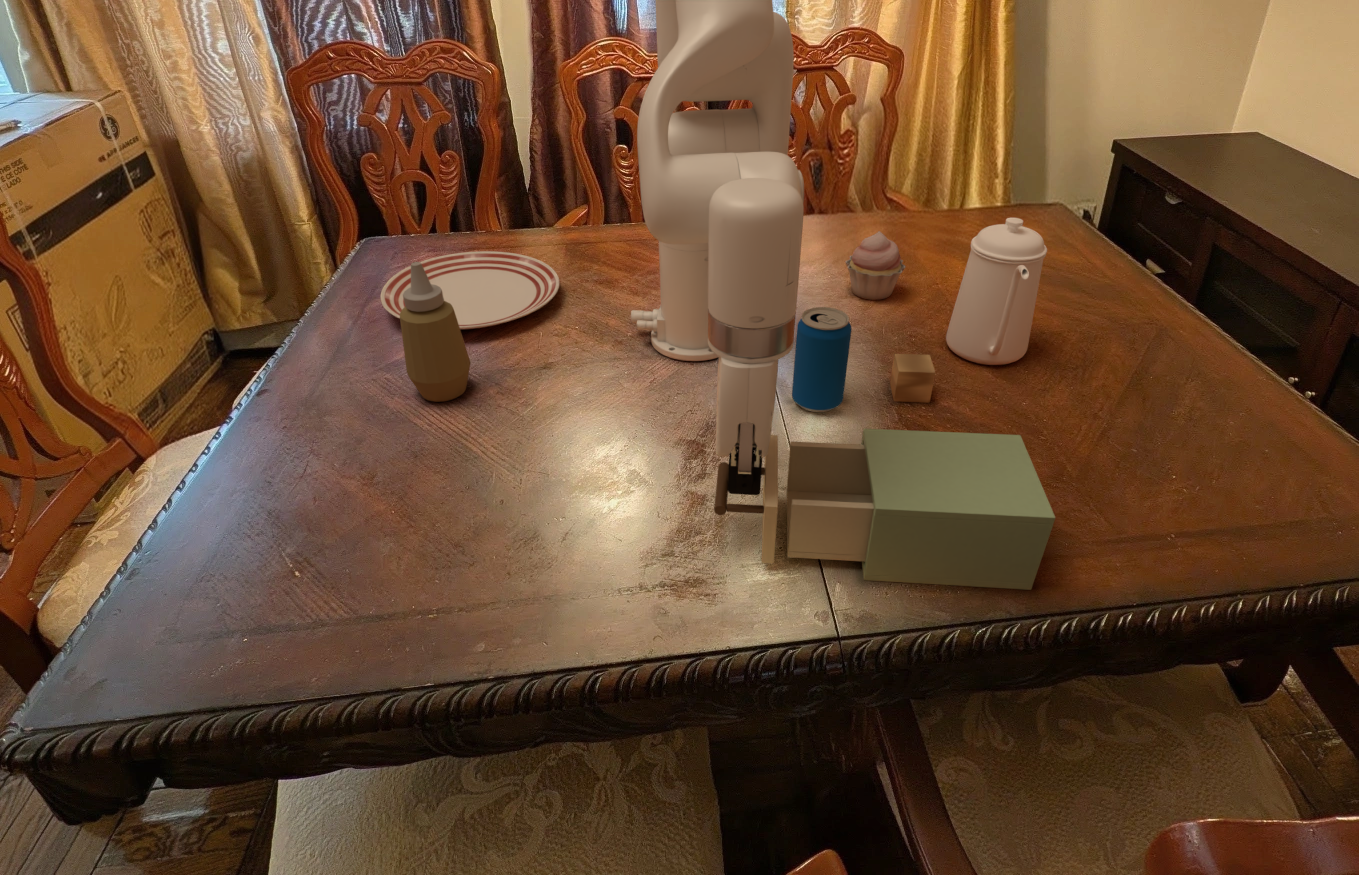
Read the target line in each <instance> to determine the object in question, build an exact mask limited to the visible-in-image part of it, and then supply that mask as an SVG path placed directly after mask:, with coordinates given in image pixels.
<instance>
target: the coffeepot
mask: <svg viewBox="0 0 1359 875" xmlns="http://www.w3.org/2000/svg"><path fill="white" fill-rule="evenodd" d="M1047 253H1048V248H1047V245H1045V241H1044V238H1043V236H1042V235H1041V234H1040V233H1038V232H1037V231H1035V230H1034V229H1032V228H1030V227H1027V226H1024V220H1023V219H1022V218H1019V217H1007V218H1005V222H1004V223H999V224H998V223H997V224H992V225H988V226H986V227H984V228H982V229H981V230H980V231H979V232H978V233H977V235H976V236H974V237H973V238H972V239H971V241H970V252H969V255H968V259H967V261H966V265H965V268H964V272H963V276H962V278H961V282H960V286H959V290H958V293H957V297H956V300H955V302H954V307H953V310H952V314H951V317H950V320H949V324H948V327H947V330H946V334H945V342H946V345H947V347H949V350H951V351H952V352H953V353H954V354H956V355H957V356H958V357H960V358H962V359H964V360H966V361H969V362H972V363H976V364H980V365H986V366H987V365H989V366H1003V365H1009V364H1011V363H1014V362H1017V361H1018V360H1020V359H1021V358H1023V357H1024V356H1025V354H1026V353H1027V351H1028V348H1029V342H1030V336H1031V331H1032V325H1033V319H1034V315H1035V309H1036V304H1037V296H1038V293H1039V286H1040V280H1041V275H1042V270H1043V264H1044V259H1045V258H1046V256H1047Z"/></svg>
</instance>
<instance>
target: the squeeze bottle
mask: <svg viewBox="0 0 1359 875" xmlns="http://www.w3.org/2000/svg"><path fill="white" fill-rule="evenodd" d="M410 266H411V287H410V288H408V289H407V290H406V291H404V293H403V298H404V303H405V307H404V308H403V309H402V311H401V313H400V319H399V322H400V330H401V338H402V346H403V354H404V362H405V369H406V374H407V376H408V378H409V379H410V381H411V382H412V384H413V385H414V387H415V389H416V390H417V391H418V392H419V394H420V395H421V397H422V398H423V399H424V400H426V401H429V402H436V403H437V402H447V401H451V400H454V399H456V398H458V397H460V396H462V395H463V394H465V392H466V389H467V387H468V386H467V385H468V379H469V374H470V368H471V360H470V356H469V353H468V349H467V347H466V344H465V341H464V338H463V334H462V330H461V329H460V328H459V324H458V321H457V318H456V315H455V312H454V309H453V307H452V305H451V304H450V303H448V302H446V301H444V298H443V293H442V289H441V288H440V287H439V286H437V285H433V284H430V281H429V279H428V277H427V275H426V273H425V271H424V268H423V266H422V264H421V261H414V262H411V263H410Z"/></svg>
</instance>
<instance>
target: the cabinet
mask: <svg viewBox="0 0 1359 875" xmlns="http://www.w3.org/2000/svg"><path fill="white" fill-rule="evenodd" d="M860 444H861V445H864V447H865V454H866V460H867V467H868V474H869V480H870V487H871V494H872V500H873V507H874V512H873V518H872V524H871V530H870V536H869V542H868V548H867V554H866V560H865V562H864V561H861V567H862V576H863V577H862V578H863V581H872V582H873V581H874V582H888V583H889V582H890V583H904V584H905V583H906V584H907V583H908V584H924V585H925V584H926V585H939V586H940V585H941V586H955V587H956V586H957V587H958V586H959V587H975V588H990V589H1007V590H1008V589H1010V590H1026V591H1027V590H1028V591H1031V590H1032V589H1033V586H1034V582H1035V579H1036V577H1037V574H1038V571H1039V568H1040V566H1041V562H1042V559H1043V557H1044V553H1045V550H1046V548H1047V544H1048V541H1049V538H1050V536H1051V533H1052V529H1053V527H1054V523H1055V520H1056V515H1055V512H1054V510H1053V508H1052V505H1051V503H1050V501H1049V499H1048V496H1047V494H1046V492H1045V489H1044V487H1043V484H1042V482H1041V480H1040V477H1039V475H1038V473H1037V471H1036V469H1035V465H1034V464H1033V461H1032V459H1031V456H1030V454H1029V452H1028V450H1027V447H1026V445H1025V442H1024V440H1023V438H1022V435H1021V434H1006V433H1005V434H1004V433H983V432H982V433H981V432H959V431H958V432H956V431H955V432H954V431H933V430H930V431H929V430H909V429H908V430H906V429H886V428H863V429H862V436H861V442H860Z"/></svg>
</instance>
